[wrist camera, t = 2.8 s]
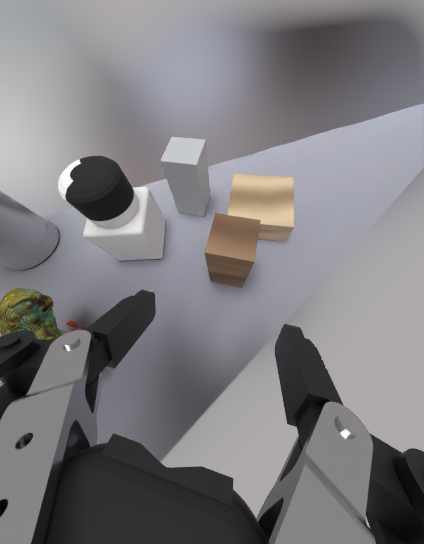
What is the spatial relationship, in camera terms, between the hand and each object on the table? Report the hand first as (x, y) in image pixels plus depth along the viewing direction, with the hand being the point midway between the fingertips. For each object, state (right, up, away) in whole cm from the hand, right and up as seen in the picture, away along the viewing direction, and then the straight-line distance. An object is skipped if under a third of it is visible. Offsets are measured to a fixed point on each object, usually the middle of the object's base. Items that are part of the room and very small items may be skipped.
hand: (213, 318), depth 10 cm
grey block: (-3, +15, +18) cm, 24 cm away
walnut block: (+2, +3, +14) cm, 14 cm away
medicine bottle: (-11, +8, +16) cm, 21 cm away
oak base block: (+7, +12, +17) cm, 22 cm away
